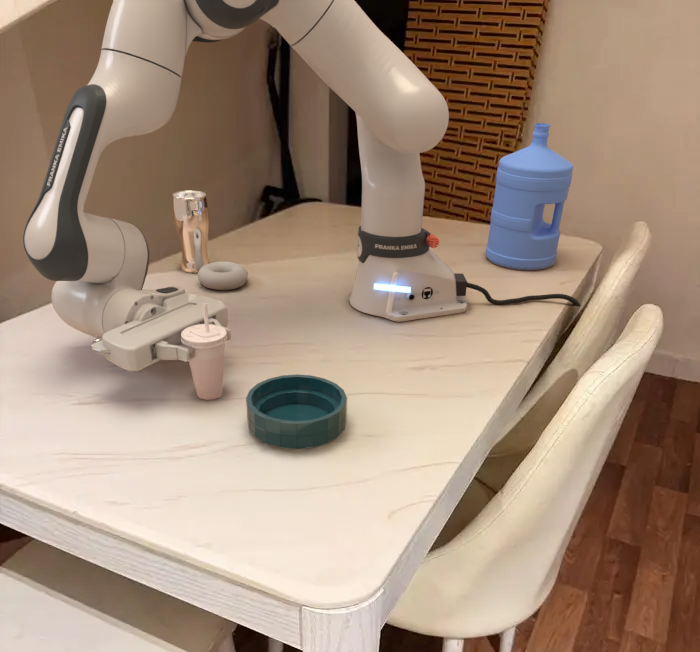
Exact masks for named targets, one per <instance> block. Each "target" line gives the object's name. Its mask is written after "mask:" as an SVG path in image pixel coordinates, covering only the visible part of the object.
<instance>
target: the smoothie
mask: <svg viewBox="0 0 700 652" xmlns="http://www.w3.org/2000/svg"><path fill="white" fill-rule="evenodd" d="M203 311H204V322H205V324H199V325H194V326H190V327H188V328H186V329H184V330H183V331H182V333H181V342H182V343H183V344H186V345H188V346H191V347H193V349H194V356H195V357H194V358H193V359H191V360H189V361H188V364H189V368H190V373H191V376H192V380H193V384H194V388H195V392H196V396H197V397H198V398H199V399H201V400H206V401H210V400H216V399H218V398H220V397H222V395H223V389H224V385H223V384H224V372H225V371H224V369H225V368H224V367H225V350H226V342H227V341H228V340H227V332H226V330H225V329H224V328H223V327H220V326H218V325H213V324H209V321H208V310H207V303H203ZM226 340H227V341H226Z"/></svg>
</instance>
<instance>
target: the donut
mask: <svg viewBox="0 0 700 652" xmlns="http://www.w3.org/2000/svg"><path fill="white" fill-rule="evenodd" d="M248 279H249V272H248V270H247V269H246V268H245V266H243V265H242V264H240V263H238V262H233V261H213V262H210V263H209V264H207V265H204V266H203V267H202V268H200V270H199V272H198V273H197V280H198V281H199V283H200V284H201V285H202V286H204V287H205V288H207V289H210V290H216V291H227V290H228V291H229V290H234V289H238V288H240V287H242V286H244V284H246V283H247V282H248Z"/></svg>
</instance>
